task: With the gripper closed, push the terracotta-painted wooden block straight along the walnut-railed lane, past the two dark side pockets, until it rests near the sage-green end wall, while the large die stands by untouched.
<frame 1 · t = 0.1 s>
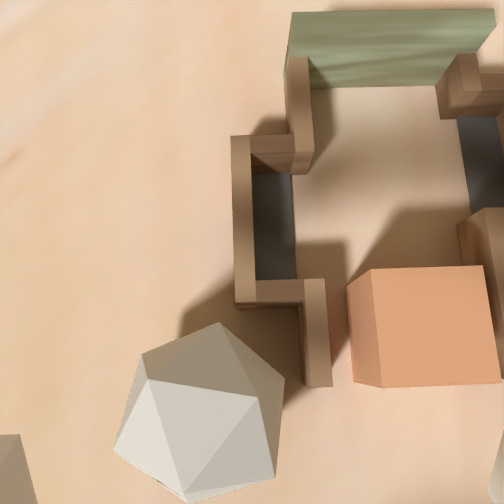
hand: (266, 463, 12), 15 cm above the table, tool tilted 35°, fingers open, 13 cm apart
block: (395, 331, 28), on the table
trap lane: (382, 213, 30), on the table
die: (209, 404, 27), on the table
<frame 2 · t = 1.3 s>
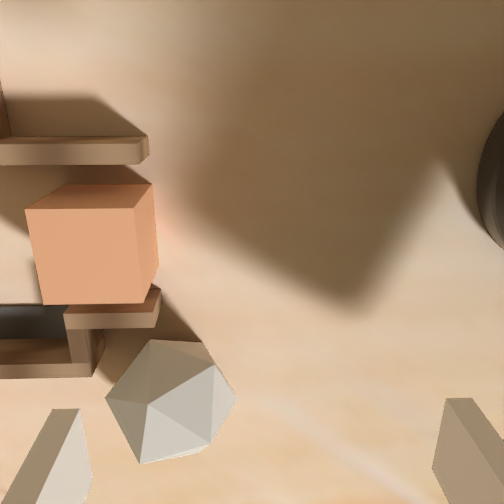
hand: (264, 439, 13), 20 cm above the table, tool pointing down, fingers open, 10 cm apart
block: (113, 225, 31), on the table
die: (180, 364, 36), on the table
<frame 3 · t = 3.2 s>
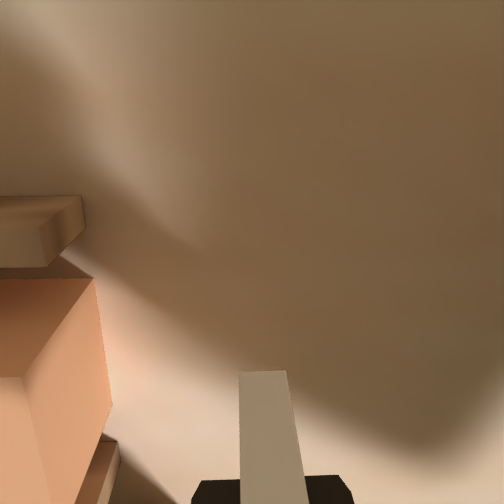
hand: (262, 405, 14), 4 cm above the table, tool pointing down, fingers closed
block: (29, 345, 18), on the table
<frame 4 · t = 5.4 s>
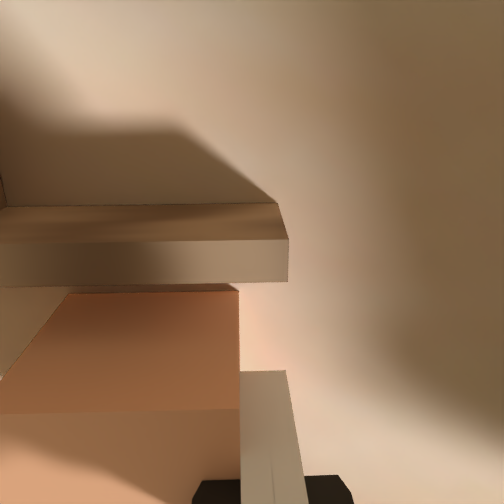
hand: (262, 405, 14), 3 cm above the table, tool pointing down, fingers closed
block: (160, 362, 17), on the table, touching gripper
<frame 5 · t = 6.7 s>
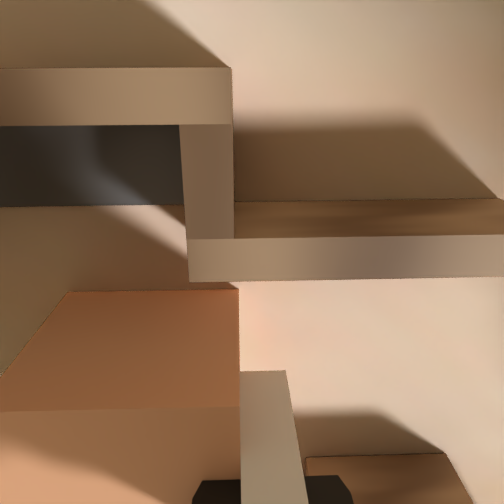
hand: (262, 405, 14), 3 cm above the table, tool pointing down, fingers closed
block: (160, 361, 17), on the table
trap lane: (179, 361, 17), on the table
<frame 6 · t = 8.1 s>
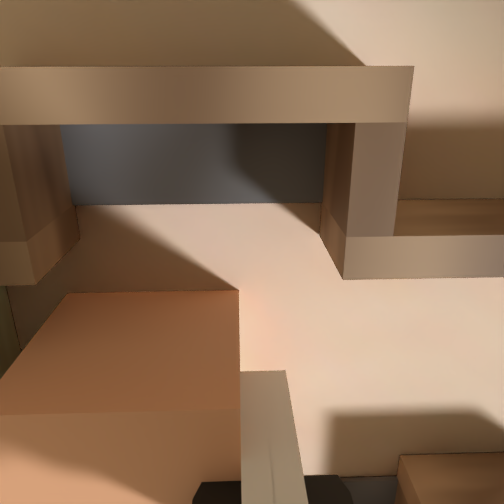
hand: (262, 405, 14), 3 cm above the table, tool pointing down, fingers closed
block: (160, 362, 17), on the table, touching gripper
trap lane: (286, 359, 17), on the table
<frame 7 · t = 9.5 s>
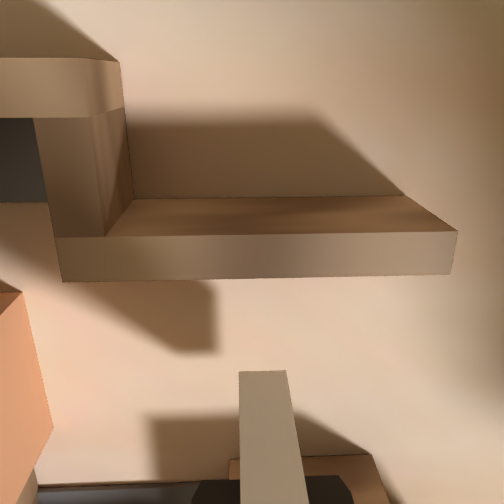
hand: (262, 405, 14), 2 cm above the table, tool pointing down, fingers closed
trap lane: (90, 363, 16), on the table
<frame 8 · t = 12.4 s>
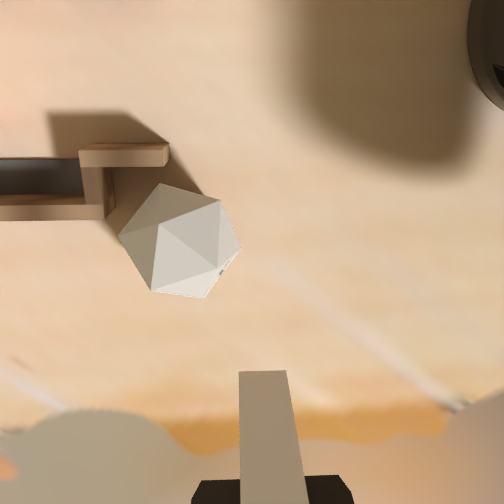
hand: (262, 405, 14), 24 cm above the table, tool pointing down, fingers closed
trap lane: (15, 75, 33), on the table
die: (187, 225, 38), on the table
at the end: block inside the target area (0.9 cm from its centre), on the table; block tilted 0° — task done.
